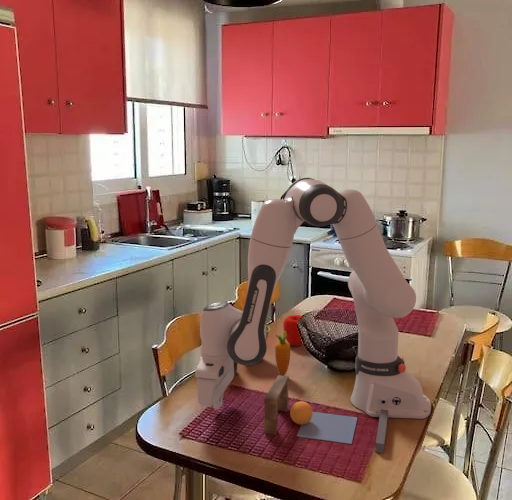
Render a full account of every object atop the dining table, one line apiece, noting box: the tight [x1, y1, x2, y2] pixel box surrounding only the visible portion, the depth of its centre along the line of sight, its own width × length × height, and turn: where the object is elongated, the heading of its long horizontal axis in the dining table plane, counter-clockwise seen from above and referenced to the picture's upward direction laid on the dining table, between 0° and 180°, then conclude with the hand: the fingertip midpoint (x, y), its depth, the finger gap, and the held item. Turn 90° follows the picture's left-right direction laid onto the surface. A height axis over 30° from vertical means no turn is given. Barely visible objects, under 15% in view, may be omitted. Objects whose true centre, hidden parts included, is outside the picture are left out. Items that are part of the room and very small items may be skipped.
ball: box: [289, 400, 314, 426], centre depth 156 cm, size 6×6×6 cm
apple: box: [282, 314, 303, 347], centre depth 212 cm, size 9×9×11 cm
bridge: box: [263, 374, 290, 436], centre depth 157 cm, size 3×15×10 cm, turn 164°
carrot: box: [274, 330, 291, 376], centre depth 184 cm, size 5×5×15 cm
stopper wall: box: [374, 409, 389, 454], centre depth 150 cm, size 2×18×2 cm, turn 164°
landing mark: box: [296, 411, 358, 445], centre depth 154 cm, size 14×14×1 cm
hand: (217, 406), depth 162 cm, fingers closed
